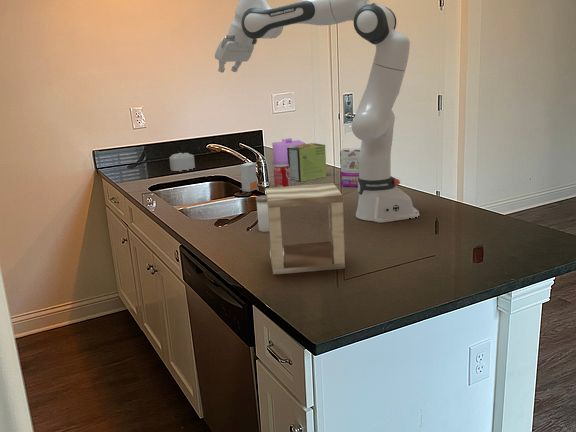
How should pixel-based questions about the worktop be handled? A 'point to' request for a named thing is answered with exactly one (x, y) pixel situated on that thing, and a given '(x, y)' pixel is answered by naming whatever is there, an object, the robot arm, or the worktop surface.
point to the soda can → (282, 175)
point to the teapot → (283, 150)
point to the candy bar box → (349, 167)
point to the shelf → (310, 253)
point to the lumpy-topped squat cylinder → (182, 162)
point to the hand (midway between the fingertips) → (227, 71)
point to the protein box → (307, 161)
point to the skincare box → (248, 177)
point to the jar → (262, 213)
